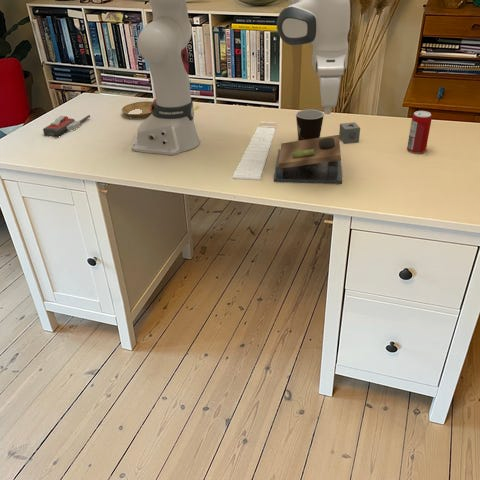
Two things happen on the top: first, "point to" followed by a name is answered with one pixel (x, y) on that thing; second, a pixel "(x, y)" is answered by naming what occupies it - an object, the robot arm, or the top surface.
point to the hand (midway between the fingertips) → (327, 112)
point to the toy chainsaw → (62, 126)
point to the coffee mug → (309, 124)
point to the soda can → (419, 132)
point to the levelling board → (308, 146)
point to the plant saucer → (138, 105)
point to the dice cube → (349, 133)
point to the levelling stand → (310, 173)
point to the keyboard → (255, 154)
